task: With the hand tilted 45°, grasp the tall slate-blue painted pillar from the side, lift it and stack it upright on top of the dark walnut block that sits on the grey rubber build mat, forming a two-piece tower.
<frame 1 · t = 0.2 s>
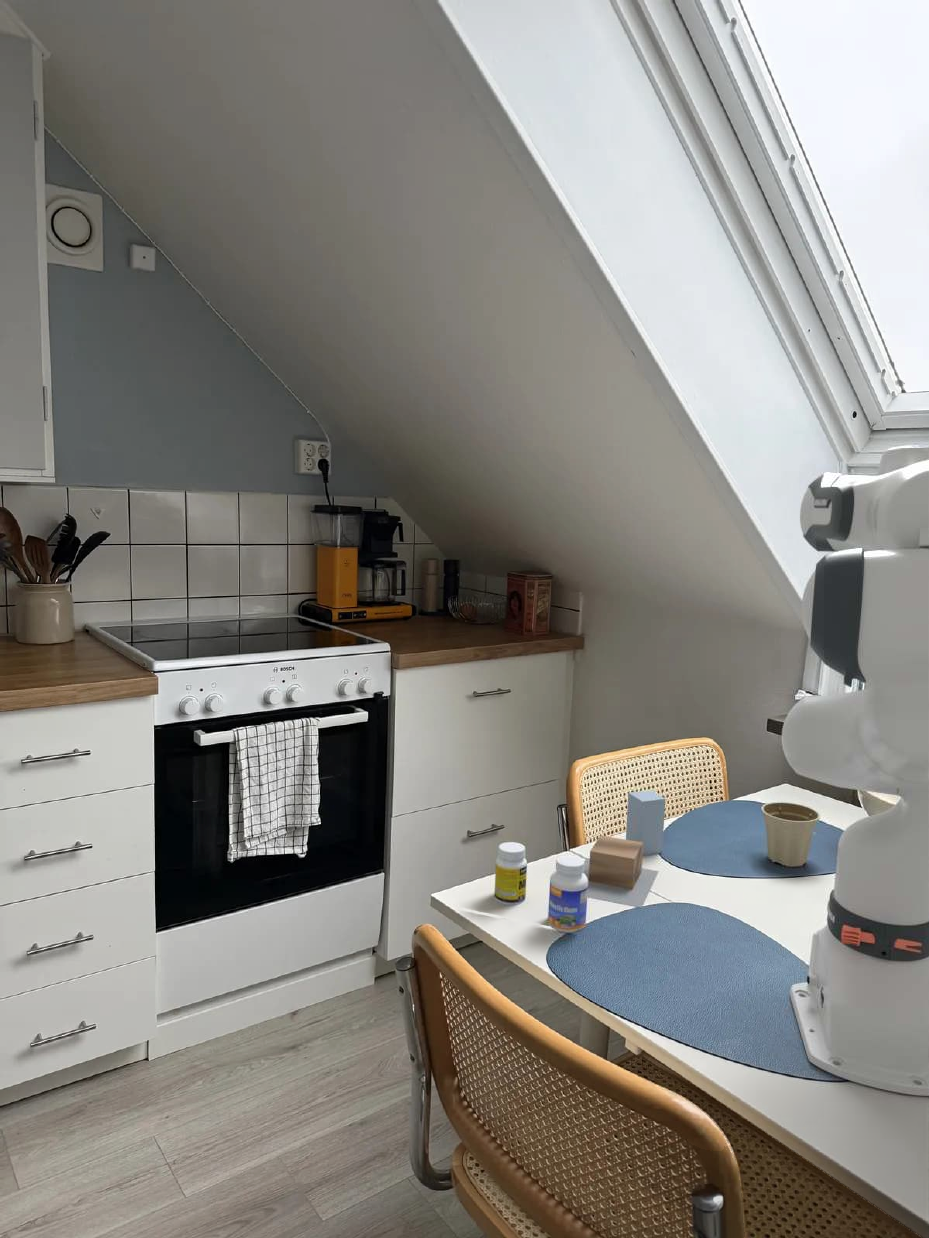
hand: (887, 665, 128), 39 cm above the table, tool pointing down, fingers open, 8 cm apart
supplement bottle: (509, 900, 140), on the table
walnut block: (615, 876, 148), resting on build mat
build mat: (612, 883, 146), on the table
slate pillar: (643, 851, 159), on the table
flower pot: (786, 860, 157), on the table
pill bottle: (566, 925, 133), on the table
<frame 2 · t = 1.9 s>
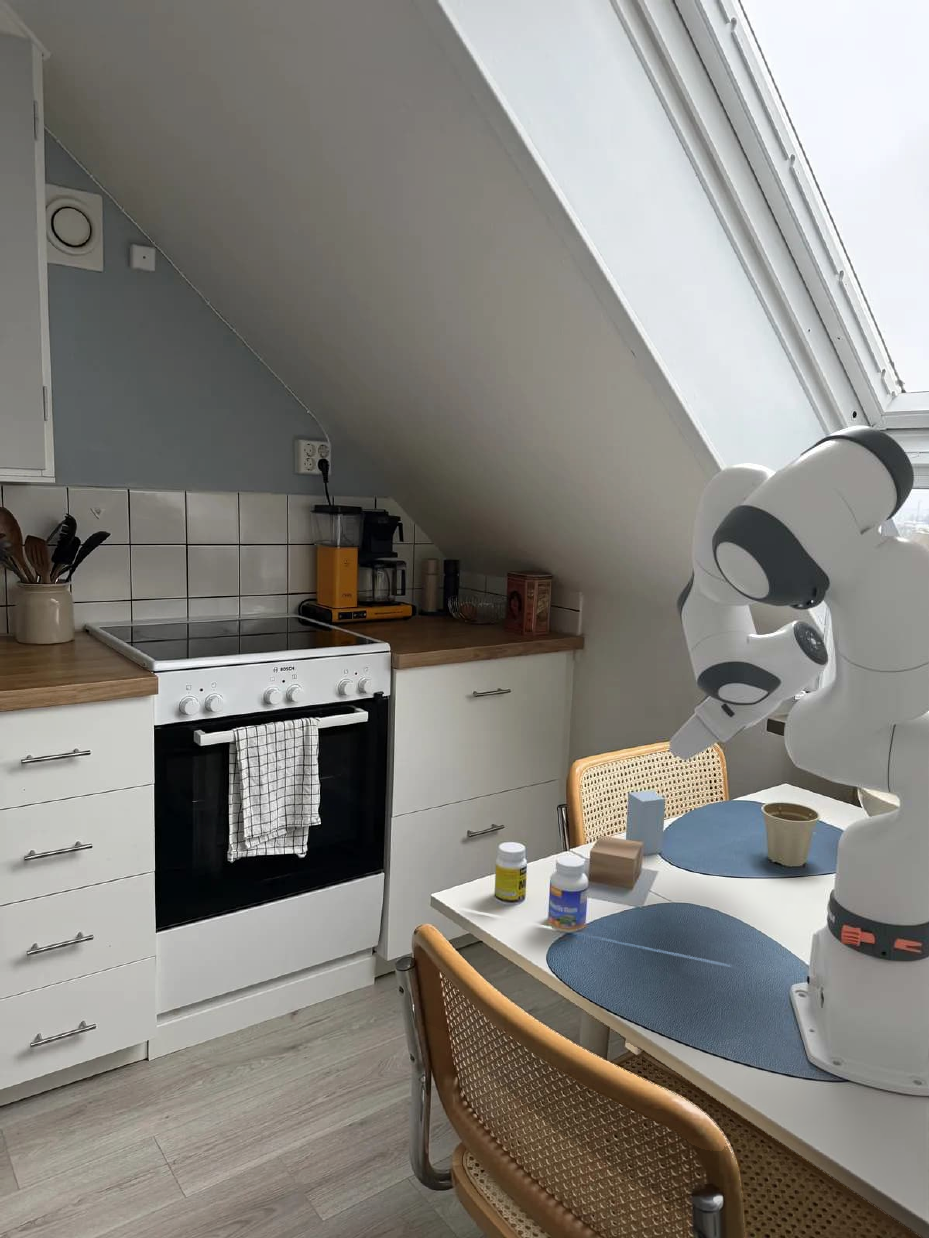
hand: (689, 737, 149), 22 cm above the table, tool tilted 50°, fingers open, 8 cm apart
nothing on the table moved.
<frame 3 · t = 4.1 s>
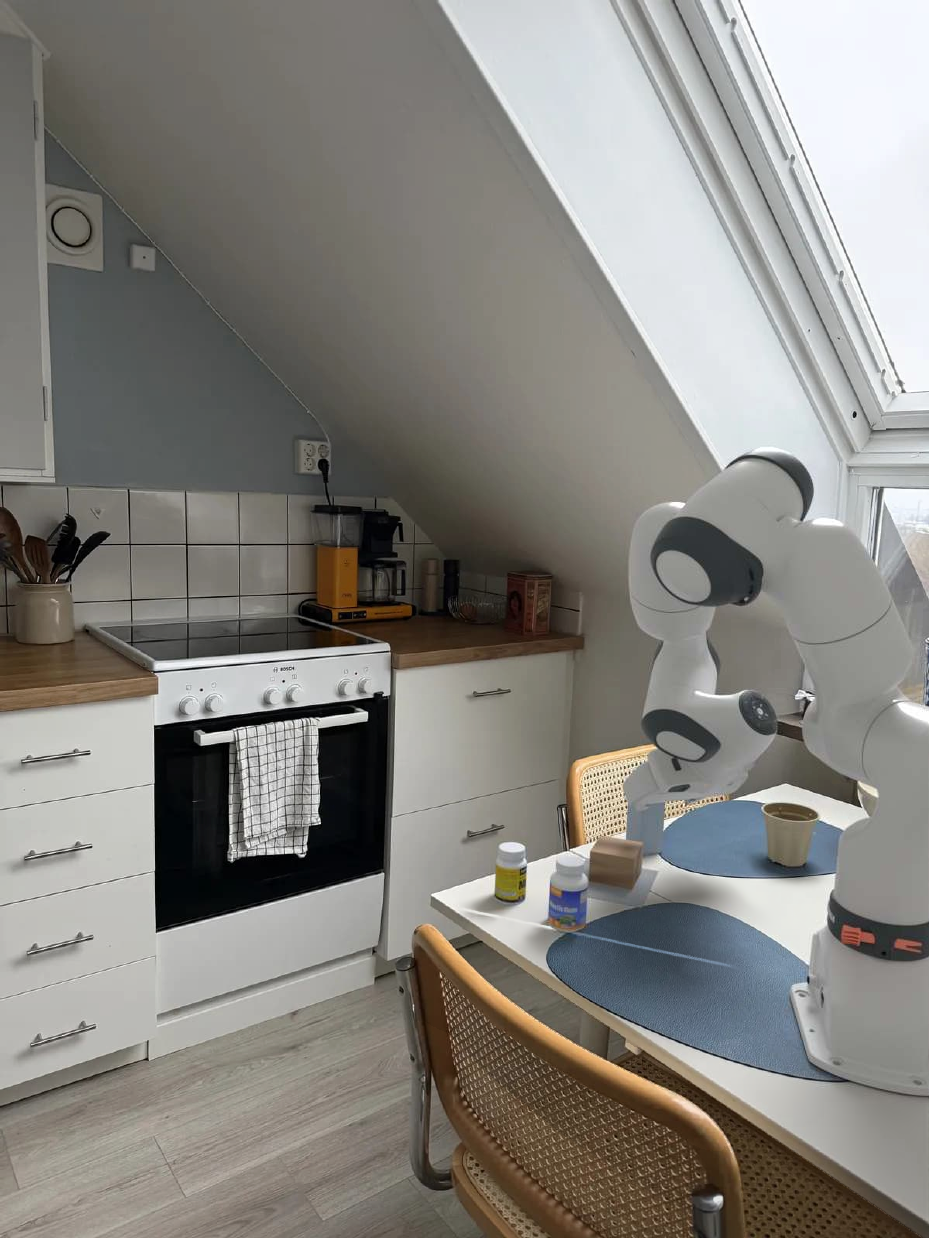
hand: (663, 803, 151), 11 cm above the table, tool tilted 45°, fingers open, 8 cm apart
nothing on the table moved.
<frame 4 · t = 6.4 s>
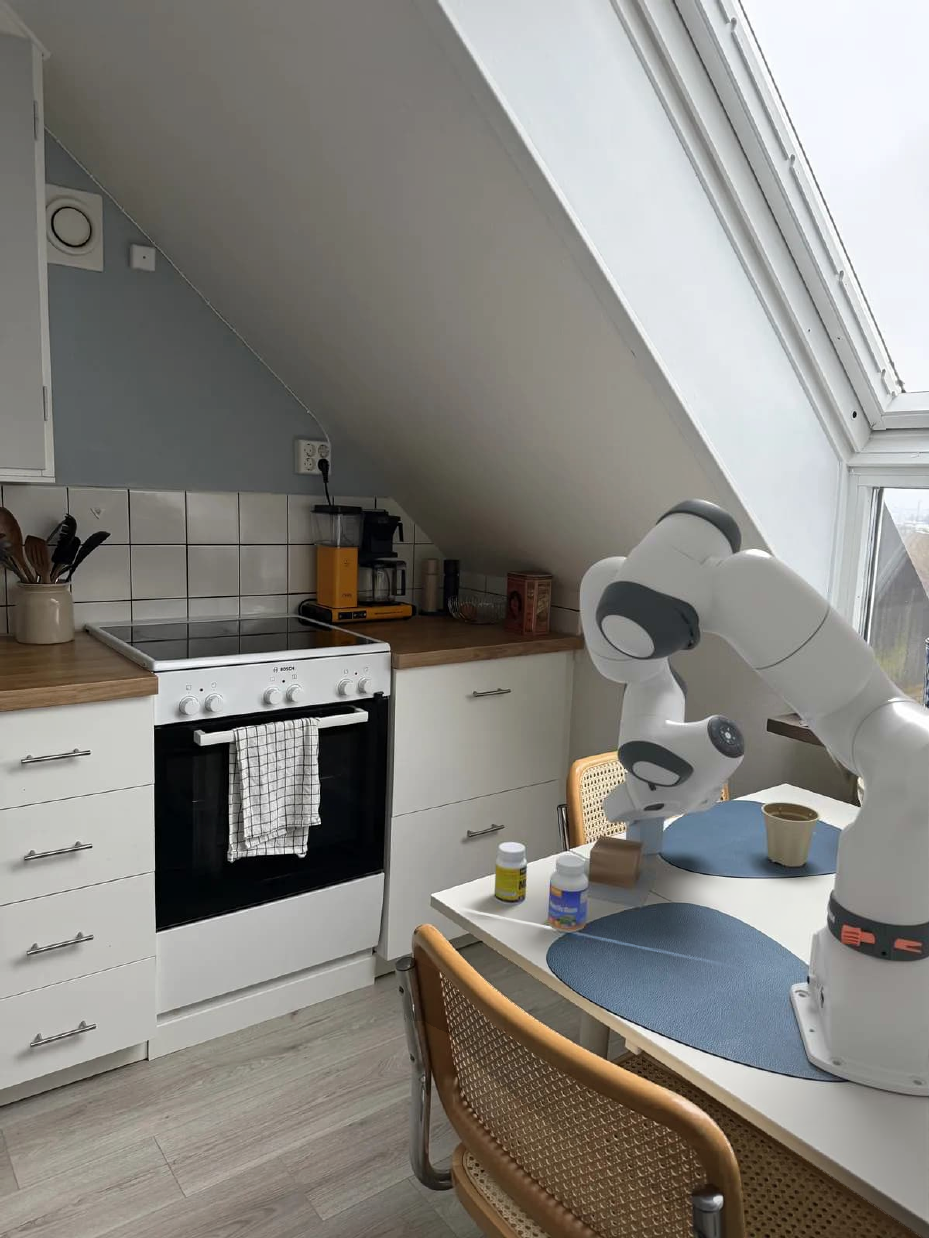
hand: (643, 819, 159), 5 cm above the table, tool tilted 45°, fingers closed on slate pillar, 4 cm apart
slate pillar: (643, 851, 159), on the table, touching gripper
everything else where it was.
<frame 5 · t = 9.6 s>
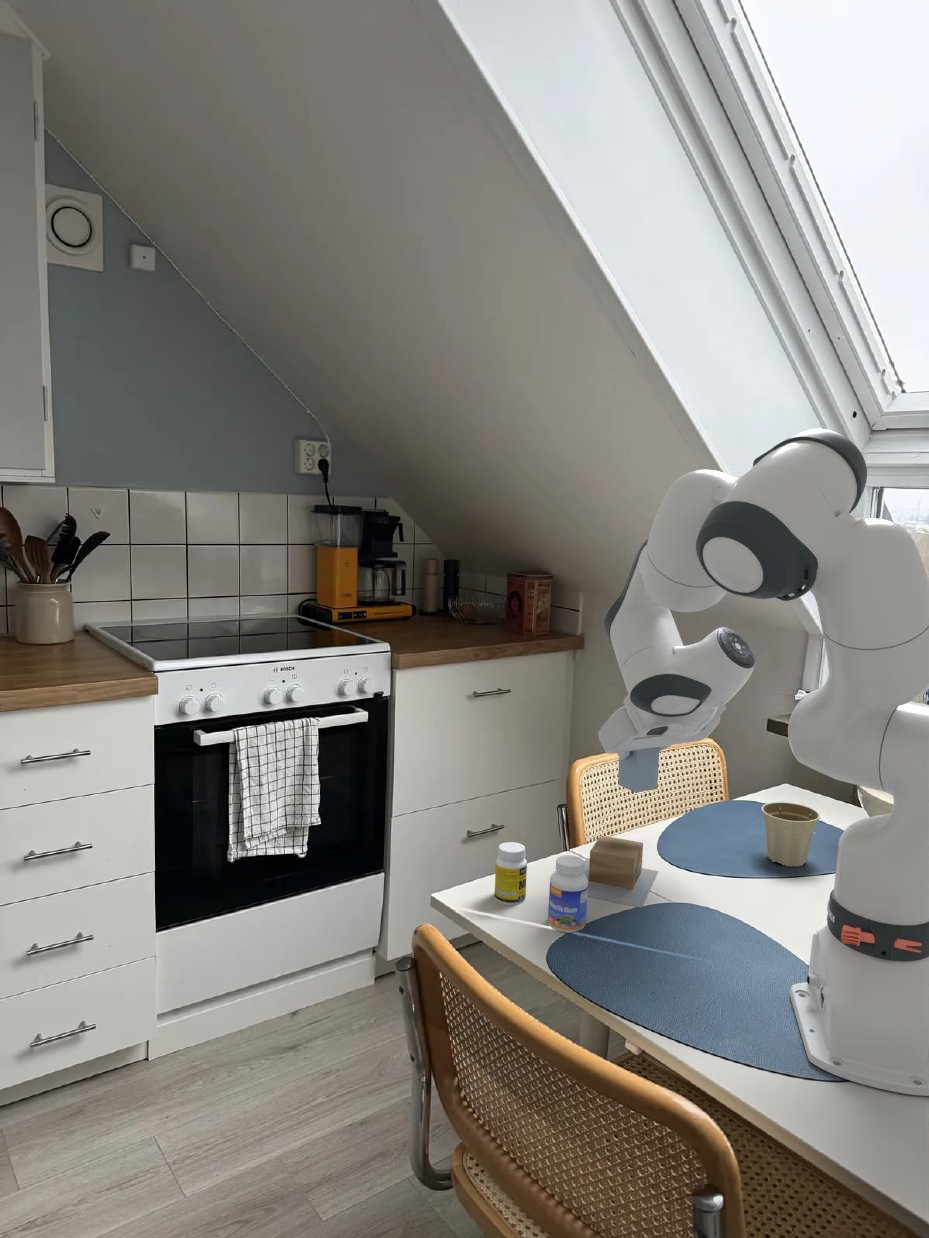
hand: (636, 753, 150), 19 cm above the table, tool tilted 45°, fingers closed on slate pillar, 4 cm apart
slate pillar: (637, 786, 150), point 14 cm above the table, touching gripper
everything else where it was.
when the fingers open (12 cm above the table, at t = 12.7 s): slate pillar drops 1 cm, resting on walnut block.
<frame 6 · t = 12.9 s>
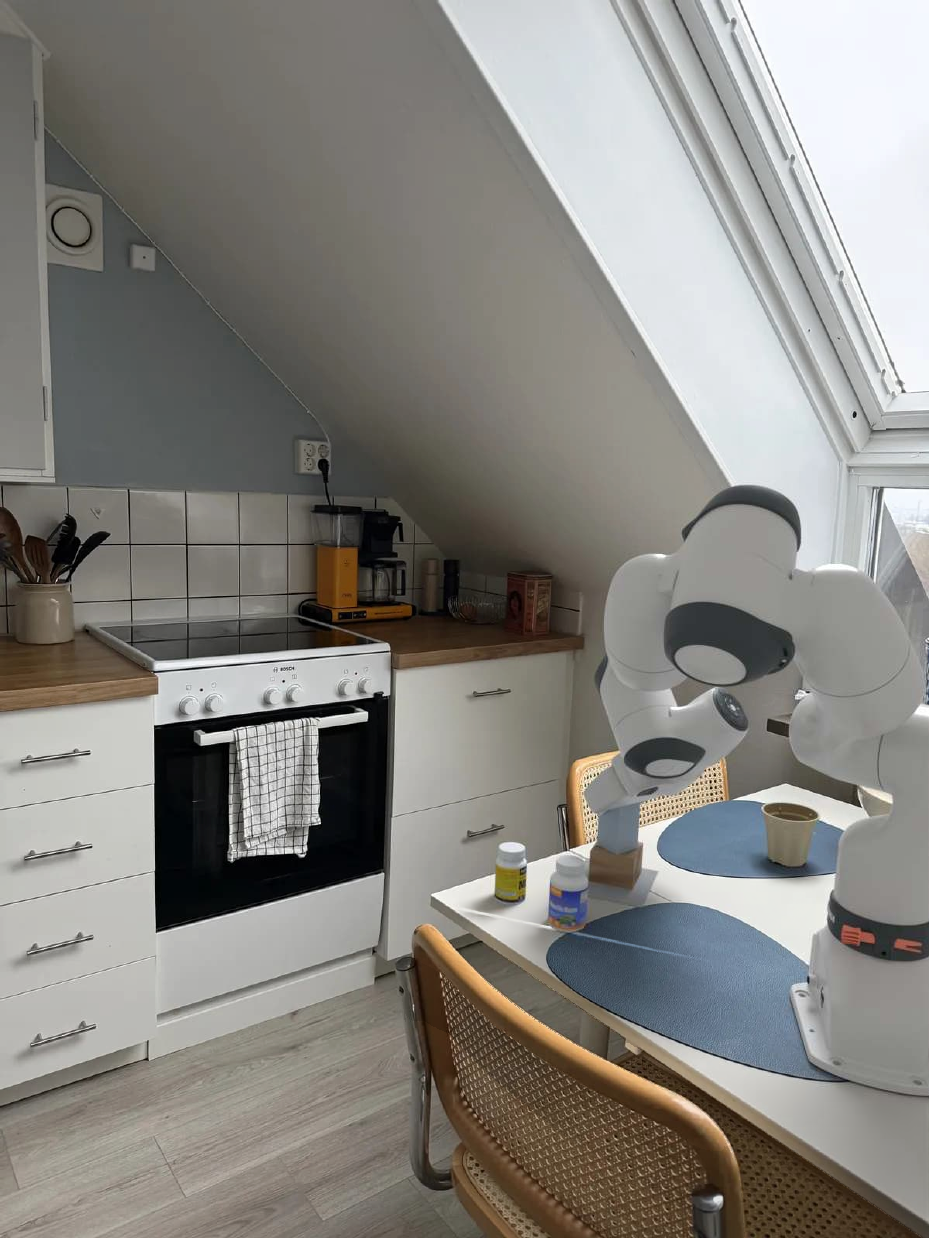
hand: (616, 806, 147), 12 cm above the table, tool tilted 45°, fingers open, 6 cm apart
walnut block: (615, 876, 148), resting on build mat, touching slate pillar
slate pillar: (617, 846, 147), point 5 cm above the table, touching walnut block
everything else where it was.
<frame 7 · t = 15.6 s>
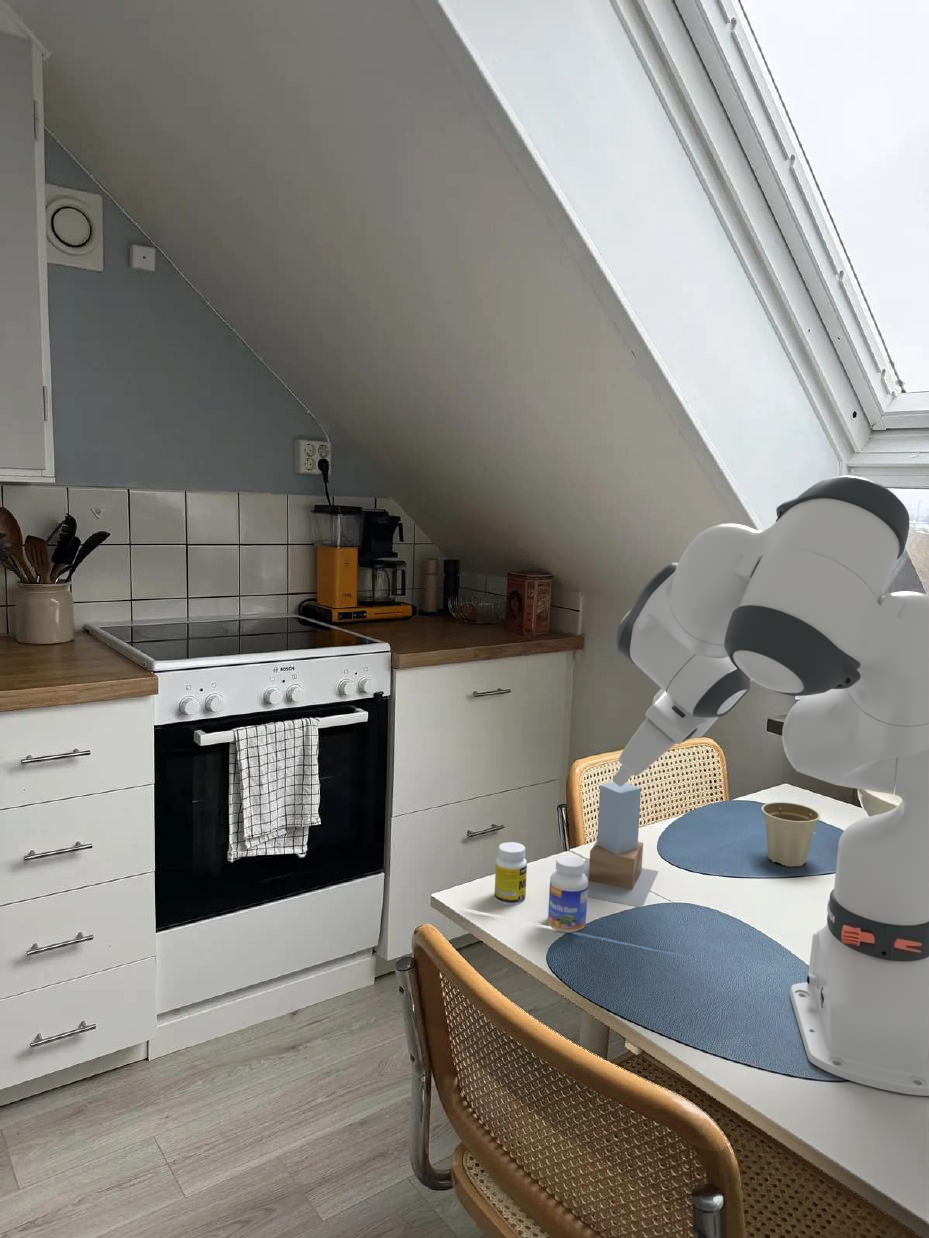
hand: (627, 773, 140), 19 cm above the table, tool tilted 35°, fingers open, 8 cm apart
nothing on the table moved.
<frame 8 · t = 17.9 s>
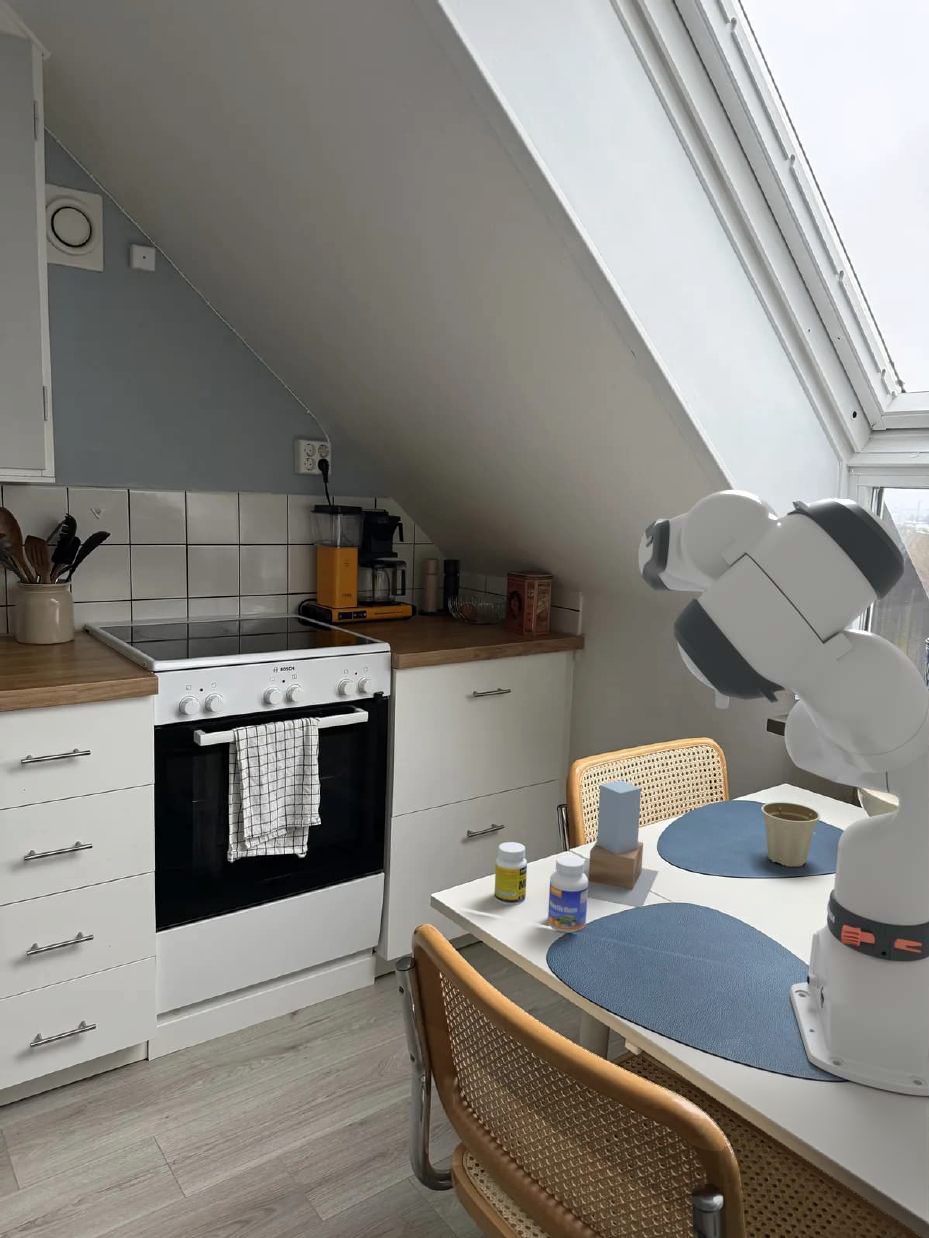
hand: (725, 700, 138), 31 cm above the table, tool pointing down, fingers open, 8 cm apart
nothing on the table moved.
at the end: slate pillar 0.0 cm off-centre on the walnut block, point 5.0 cm above the walnut block's base; slate pillar tilted 0°; the gripper is holding nothing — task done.
